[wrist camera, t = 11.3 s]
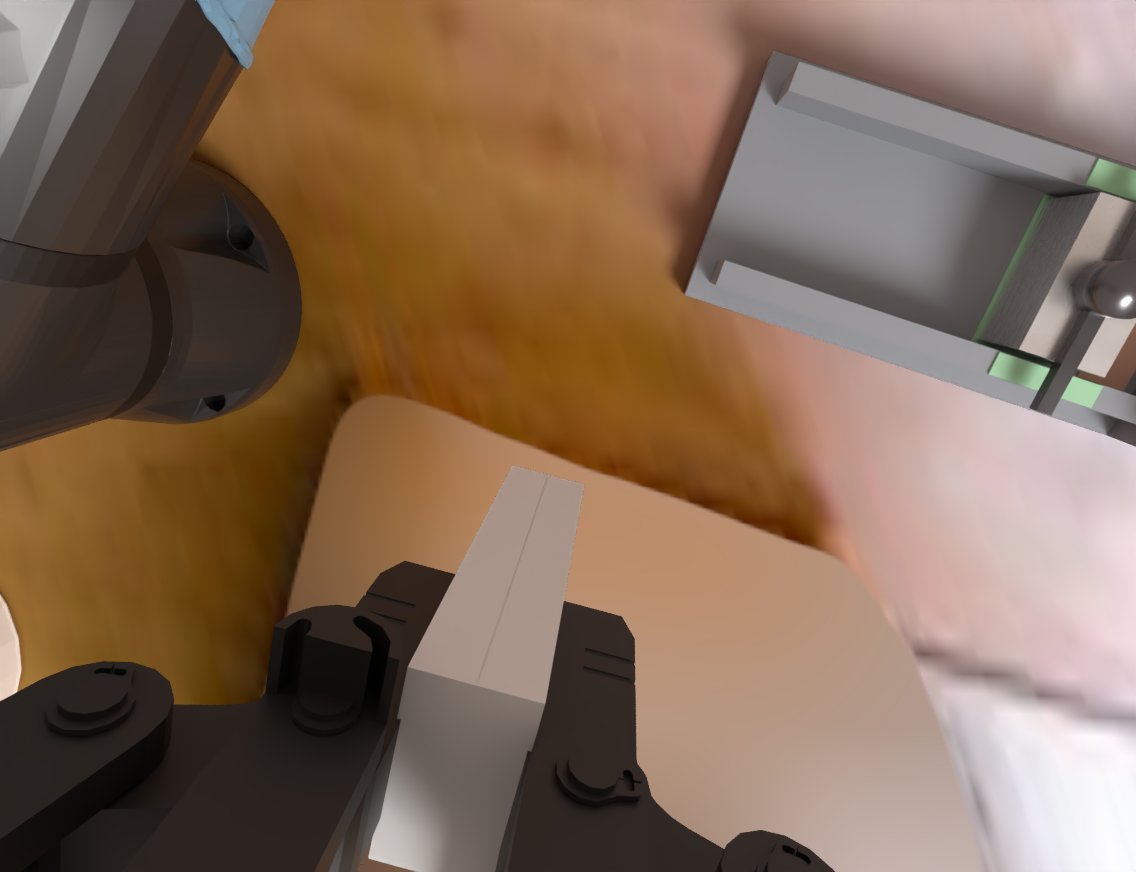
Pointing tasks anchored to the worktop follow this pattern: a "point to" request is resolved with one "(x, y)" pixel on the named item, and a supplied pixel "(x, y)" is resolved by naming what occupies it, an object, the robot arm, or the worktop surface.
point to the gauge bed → (898, 232)
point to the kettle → (8, 653)
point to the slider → (1070, 291)
